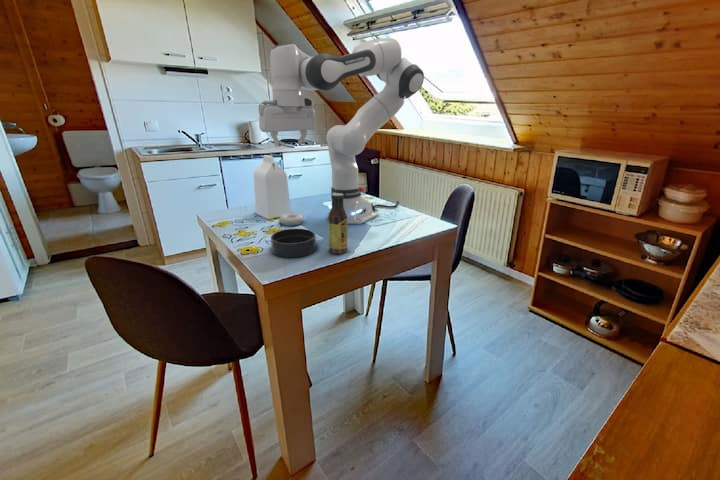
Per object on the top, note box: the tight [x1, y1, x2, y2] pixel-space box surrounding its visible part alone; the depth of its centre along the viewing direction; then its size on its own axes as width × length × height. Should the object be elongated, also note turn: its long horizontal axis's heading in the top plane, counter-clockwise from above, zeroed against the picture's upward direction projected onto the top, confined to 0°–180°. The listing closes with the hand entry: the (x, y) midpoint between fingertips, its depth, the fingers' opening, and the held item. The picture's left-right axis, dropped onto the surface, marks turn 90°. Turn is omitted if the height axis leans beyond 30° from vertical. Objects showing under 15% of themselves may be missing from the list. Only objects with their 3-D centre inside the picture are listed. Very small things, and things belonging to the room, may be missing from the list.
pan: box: [270, 228, 317, 258], centre depth 119 cm, size 15×15×5 cm
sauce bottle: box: [328, 193, 348, 255], centre depth 115 cm, size 6×6×20 cm
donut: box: [278, 212, 304, 227], centre depth 145 cm, size 10×3×10 cm
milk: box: [253, 154, 292, 220], centre depth 153 cm, size 12×12×26 cm
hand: (290, 145), depth 116 cm, fingers open, 8 cm apart
